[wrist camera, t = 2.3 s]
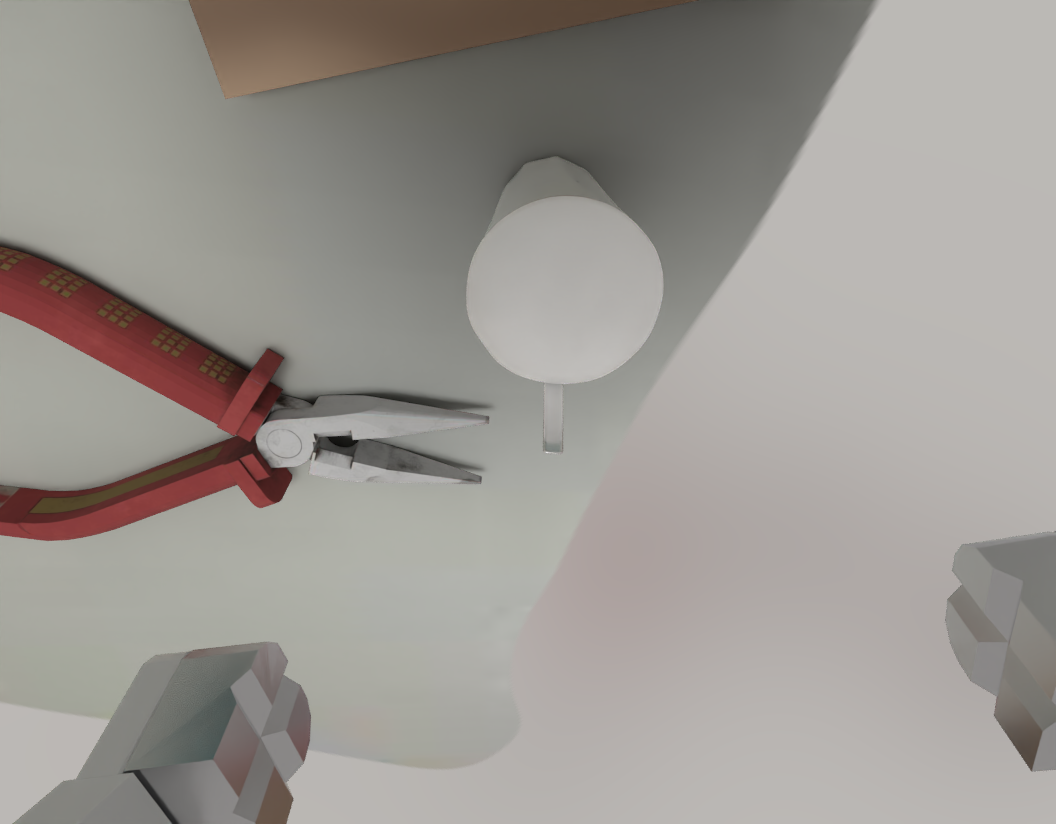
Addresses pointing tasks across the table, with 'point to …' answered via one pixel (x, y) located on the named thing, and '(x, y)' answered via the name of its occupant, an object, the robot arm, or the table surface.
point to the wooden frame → (371, 33)
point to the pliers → (218, 395)
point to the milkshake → (562, 283)
